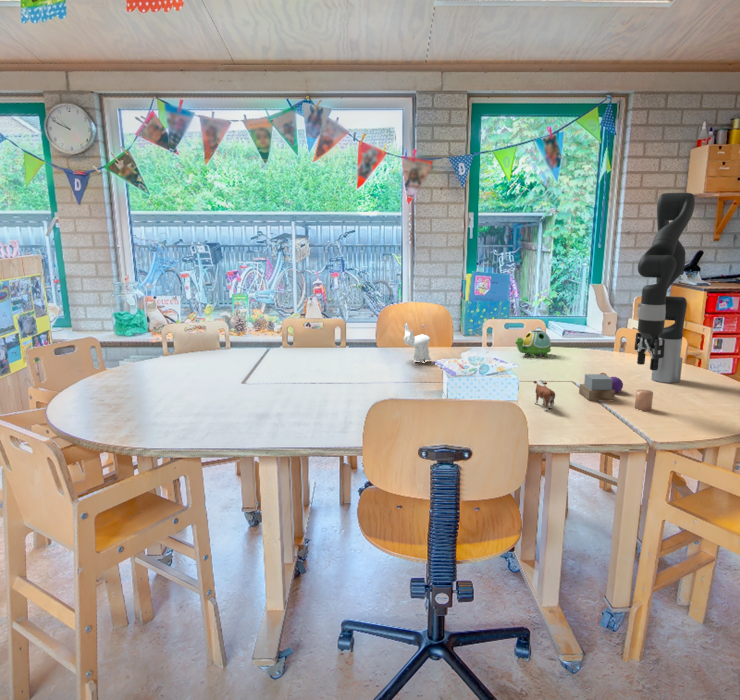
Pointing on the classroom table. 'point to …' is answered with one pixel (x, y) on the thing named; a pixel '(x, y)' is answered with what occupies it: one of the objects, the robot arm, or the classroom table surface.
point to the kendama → (616, 384)
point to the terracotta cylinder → (644, 400)
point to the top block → (598, 382)
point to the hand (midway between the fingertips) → (647, 367)
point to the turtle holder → (534, 343)
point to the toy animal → (417, 344)
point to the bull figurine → (544, 393)
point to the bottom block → (596, 394)
